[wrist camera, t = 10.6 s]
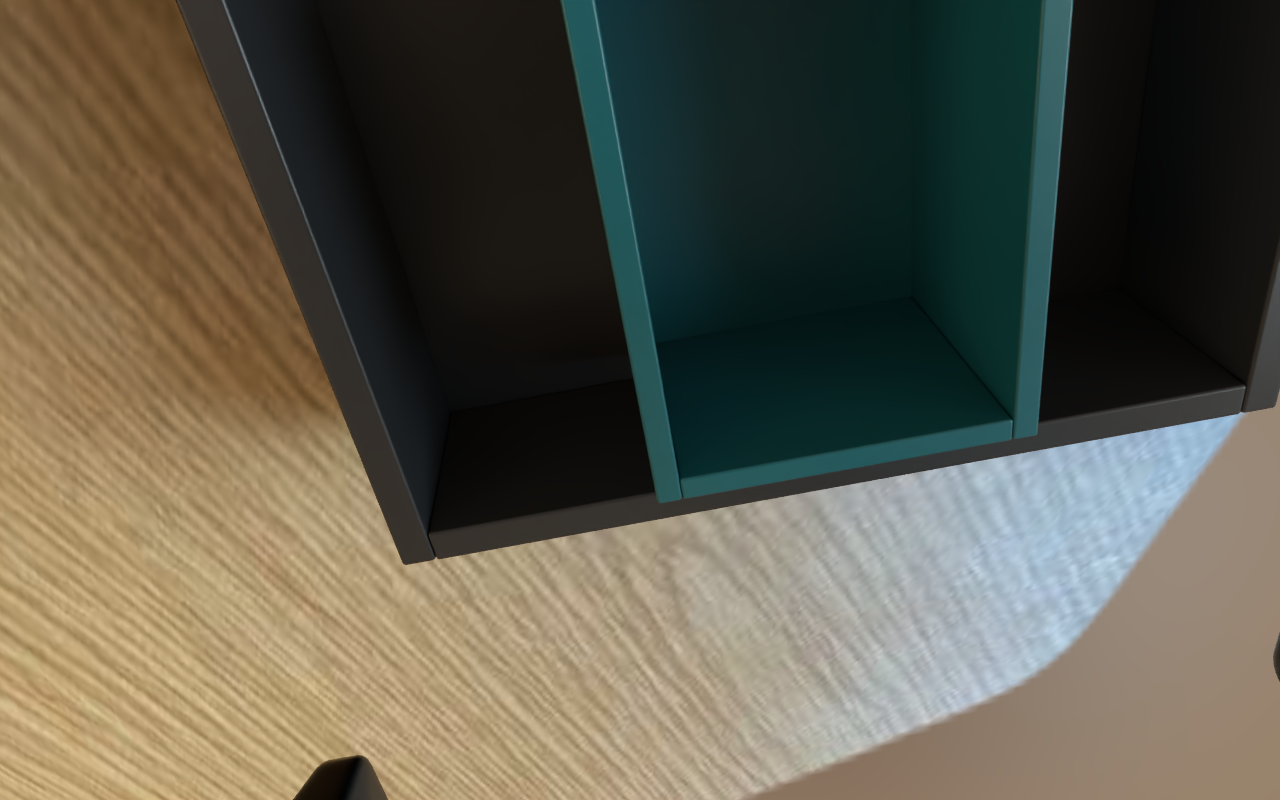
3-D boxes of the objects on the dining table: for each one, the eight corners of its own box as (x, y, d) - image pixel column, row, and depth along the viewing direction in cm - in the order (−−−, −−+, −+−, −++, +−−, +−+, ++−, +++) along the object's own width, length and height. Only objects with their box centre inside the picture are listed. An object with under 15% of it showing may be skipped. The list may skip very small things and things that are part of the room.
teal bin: (926, -157, 14) (1089, -167, 10) (925, 302, 18) (1039, 436, 14) (549, -85, 14) (547, -64, 10) (634, 354, 18) (657, 505, 14)
